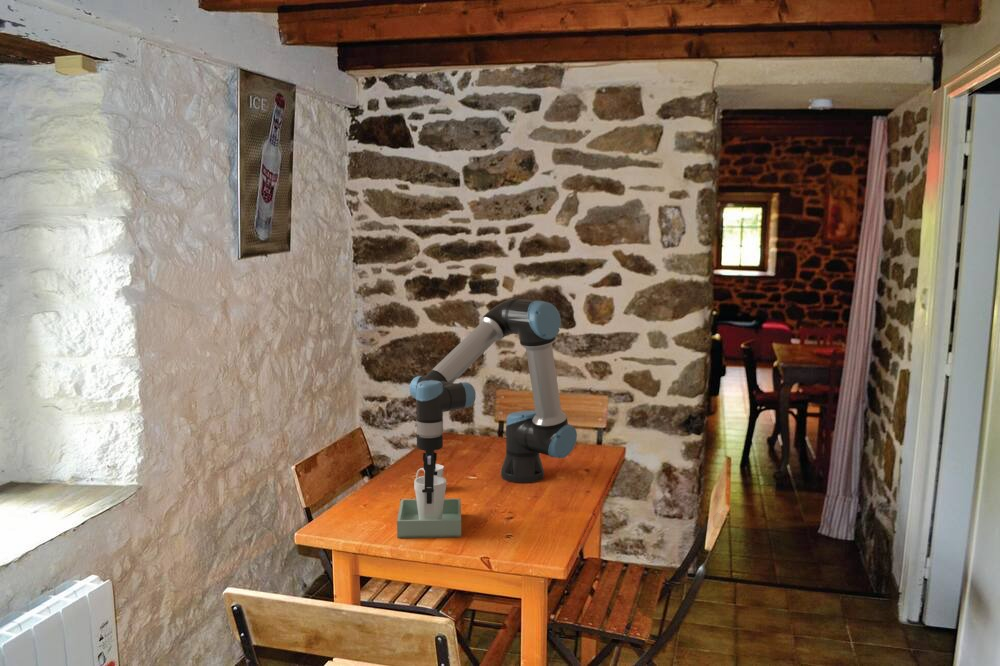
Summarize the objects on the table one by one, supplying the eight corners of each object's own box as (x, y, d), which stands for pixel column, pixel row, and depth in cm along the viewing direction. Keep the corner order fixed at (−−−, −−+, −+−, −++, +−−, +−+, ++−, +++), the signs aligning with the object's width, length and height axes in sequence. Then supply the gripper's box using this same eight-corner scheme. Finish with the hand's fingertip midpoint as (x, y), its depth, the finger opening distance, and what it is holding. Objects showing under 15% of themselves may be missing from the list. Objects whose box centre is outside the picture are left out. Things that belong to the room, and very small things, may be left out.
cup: (438, 495, 263) (438, 471, 262) (411, 491, 267) (411, 467, 266) (448, 488, 269) (448, 465, 268) (421, 484, 273) (421, 461, 272)
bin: (460, 514, 246) (460, 498, 245) (461, 537, 228) (461, 520, 227) (401, 515, 245) (401, 499, 244) (397, 538, 227) (397, 521, 226)
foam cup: (414, 517, 241) (414, 475, 239) (445, 516, 242) (445, 475, 240) (414, 529, 232) (414, 486, 230) (446, 528, 233) (446, 485, 231)
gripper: (418, 423, 245) (418, 491, 248) (414, 446, 220) (415, 521, 223) (443, 423, 245) (443, 490, 248) (442, 446, 221) (442, 520, 223)
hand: (430, 505), depth 236 cm, fingers open, 13 cm apart
